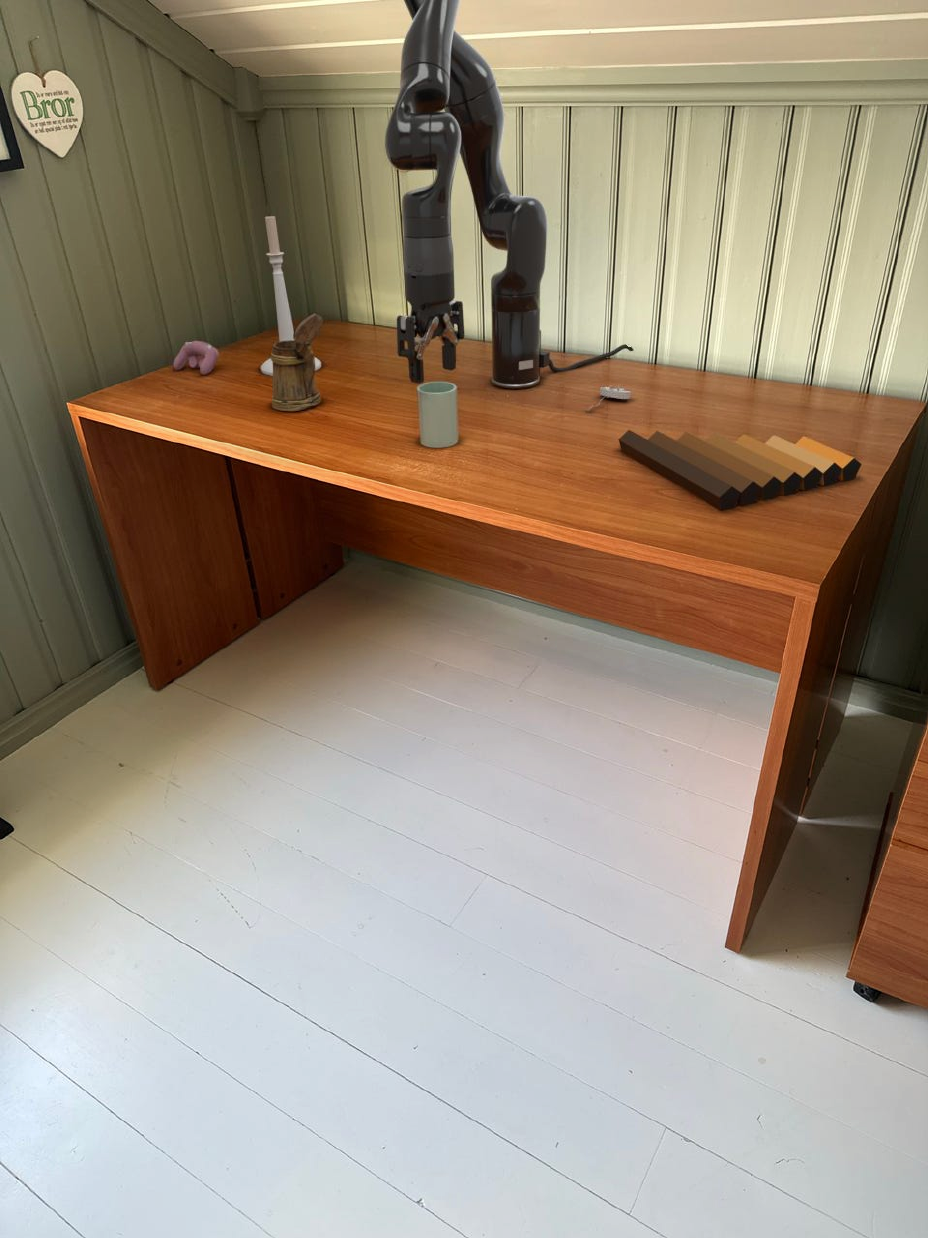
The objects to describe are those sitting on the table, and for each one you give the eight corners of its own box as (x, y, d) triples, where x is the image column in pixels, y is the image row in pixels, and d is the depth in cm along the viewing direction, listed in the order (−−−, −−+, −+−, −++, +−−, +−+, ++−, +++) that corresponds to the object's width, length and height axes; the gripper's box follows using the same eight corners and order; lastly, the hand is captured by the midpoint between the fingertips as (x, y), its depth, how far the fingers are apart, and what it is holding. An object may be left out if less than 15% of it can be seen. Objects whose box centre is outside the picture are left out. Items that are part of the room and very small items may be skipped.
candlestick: (333, 363, 182) (315, 211, 166) (294, 379, 173) (272, 219, 157) (288, 356, 188) (267, 208, 172) (248, 371, 179) (222, 217, 163)
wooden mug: (307, 420, 151) (293, 316, 142) (263, 405, 159) (247, 306, 150) (345, 407, 157) (334, 306, 147) (300, 393, 165) (287, 297, 155)
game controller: (633, 395, 157) (634, 381, 156) (619, 415, 148) (620, 401, 147) (603, 392, 159) (604, 379, 158) (588, 412, 150) (588, 398, 149)
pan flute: (617, 452, 133) (717, 511, 114) (619, 431, 132) (720, 488, 112) (744, 426, 141) (858, 477, 122) (747, 406, 140) (863, 455, 120)
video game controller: (218, 379, 181) (224, 345, 179) (202, 374, 177) (207, 340, 176) (187, 373, 185) (192, 340, 184) (170, 368, 181) (175, 335, 180)
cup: (435, 431, 144) (432, 379, 139) (466, 438, 141) (464, 384, 136) (412, 443, 140) (408, 389, 135) (443, 450, 137) (441, 395, 132)
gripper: (437, 258, 133) (441, 362, 141) (379, 273, 123) (387, 383, 132) (476, 262, 129) (477, 368, 138) (419, 277, 119) (425, 390, 128)
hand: (433, 375), depth 135 cm, fingers open, 8 cm apart
